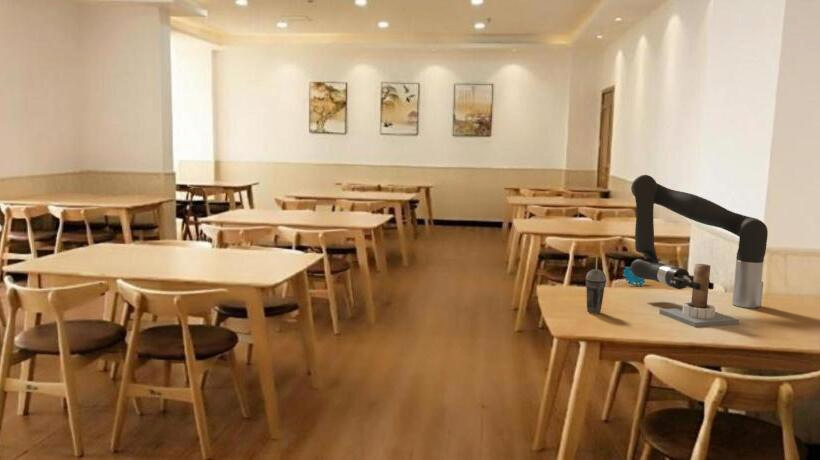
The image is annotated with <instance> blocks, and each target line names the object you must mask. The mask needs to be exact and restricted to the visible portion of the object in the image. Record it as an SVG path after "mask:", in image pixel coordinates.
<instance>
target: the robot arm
mask: <svg viewBox="0 0 820 460" xmlns="http://www.w3.org/2000/svg"><path fill="white" fill-rule="evenodd" d="M630 190H631V193H632V195H633V196H634V200H635V205H636V206H635V208H636V214H635V215H636V216H635V217H636V218H635V228H634V231H635V233H634V238H635V239H634V242H635V243H634V247H635V251H636V252H638V254H639V253H640V254H642V255H643V257H644V258H636V259H634V260H633V261H632V262H631V265H630V267H631V269H630V270H631V272H632V273H633V274H634V275H635V276H636V277H639V278H644V280H651V281H654V282H657V283H661V284H662V285H665V286H668V287H671V288H674V289H677V290H683V289H686V288H687V289H692V290H693V289H696V290H700V288H701V284H700V283H696V282H693V279H694V274H690V273H689V271H688V270H687V269H685V268H682V267H679V266H674V265H668V264H665V263H662V262H659V259H658V257H657V256H658V255H657V252H656V249H655V225H654V224H655V223H654V207H655V205H658V206H661V207H663V208H666V209H667V210H669V211H671V212H673V213H675V214H678V215H680V216H681V217H682V216H683V217H685V218H687V219H689V220H691V221H695V222H696V223H700V224H702V225H707V226H710V227H715V228H720V229H722V230H724V231H727V232H730V233H731V234H733V235H736V236H737V237H739V239H738V240H739V241H738V248H737V252H736V259H735V269H734V281H733V290H732V301H731V302H732V303H731V304H732V305H734V306H736V307H739V308H740V307H741V308H748V309H756V307H758V308H759V307H762V302H763V301H762V300H763V291H764V281H762V280H763V271H764V270H763V269H764V261H765V256H766V251H767V243H768V237H769V236H768V234H769V233H768V227H767V225H766V224H765V223H764V222H763V221H762V220H760V219H758V218H755V217H751V216H747V215H745V214H740V213H737V212H734V211H732V210H729V209H727V208H725V207H723V206H721V205H719V204H717V203H716V202H714V201H711V200H709V199H707V198H704V197H702V196H698V195H696V194H693V193H689V192H685V191H680V190H676V189H671V188H668V187H666V186H664V185H661V184H660V183H657V181H656V180H655V178H654V177H652V176H650V175H648V174H641V175H639V176H637V177H636V178H635V179H634V180H633V181H632V184H631V187H630ZM714 287H715V284H714V282H711V280H710V279H709V288H708V290H714Z"/></svg>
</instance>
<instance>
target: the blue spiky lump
mask: <svg viewBox="0 0 820 460" xmlns="http://www.w3.org/2000/svg"><path fill="white" fill-rule="evenodd" d="M622 272H623V275H622V276H623V277H624V278H625V277H626V278H625V281H626V282H627V284H630V285H632V286H633V285H634V286H635V287H642V286H643V285H644V283H645V282H646V279H644V278H639V277H636V276H635V275H634V274H633V273H632V272H631V266H626V267H625V269H623V271H622ZM634 283H635V284H634Z"/></svg>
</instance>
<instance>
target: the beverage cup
mask: <svg viewBox="0 0 820 460" xmlns="http://www.w3.org/2000/svg"><path fill="white" fill-rule="evenodd" d="M606 284H607V277H606V274H605V272H603V271H602V270H601V269H599V268H598V256H596V257H595V268H593V269H591V270H589V271H588V272H587V273H586V276H585V286H586V287H585V288H586V311H587V313H588V312H589V313H588V314H591V313H596V314H595V315H598V314H597V313H600V314H601V312H602V311H601V310H602V304H603V299H604V293H605V287H606V286H607V285H606Z"/></svg>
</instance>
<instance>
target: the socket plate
mask: <svg viewBox="0 0 820 460" xmlns="http://www.w3.org/2000/svg"><path fill="white" fill-rule="evenodd" d="M658 312H659V314H660V315H663V316H665V317H668V318H670V319H673V320H675V321H679V322H681V323H683V324H685V325H688V326H690V327H693V326H694V328H698V327H701V328H702V327H715V326H717V327H718V326H727V325H731V326H732V325H739V324H740V323H739V322H740V319H737V318H734V317H732V316H729V315H726V314H723V313H720V312H717V311H716V307H715V306H714V305H711V304H708V303H707V308H705V309H703V308H695V307H691V302H685V303H683V304H682V307H679V308H659V311H658Z"/></svg>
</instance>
